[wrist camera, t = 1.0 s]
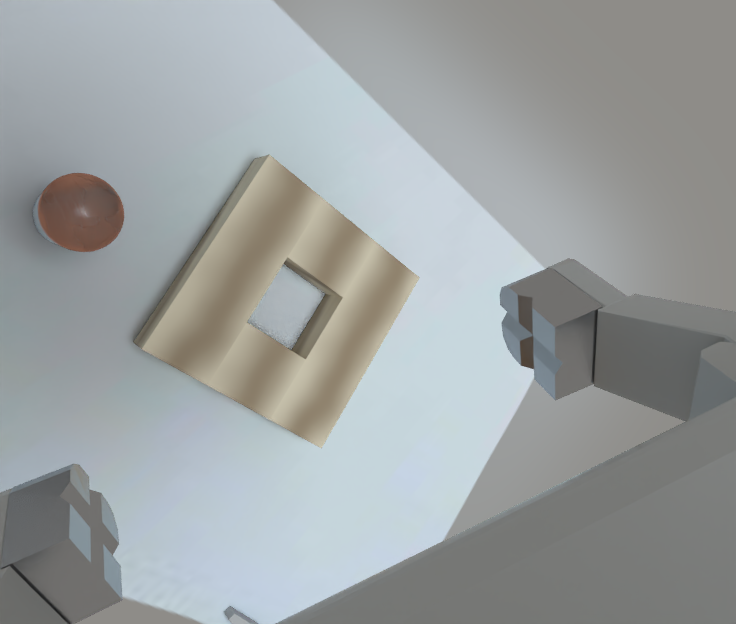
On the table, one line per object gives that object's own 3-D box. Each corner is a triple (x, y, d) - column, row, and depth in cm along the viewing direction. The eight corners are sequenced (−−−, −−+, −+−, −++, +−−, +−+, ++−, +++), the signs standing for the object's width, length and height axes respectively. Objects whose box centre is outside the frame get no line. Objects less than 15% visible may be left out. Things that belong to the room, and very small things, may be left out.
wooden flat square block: (133, 342, 43) (141, 349, 40) (254, 158, 46) (269, 154, 43) (305, 437, 51) (321, 448, 48) (399, 275, 54) (419, 277, 51)
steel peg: (17, 223, 39) (21, 221, 31) (56, 170, 39) (68, 156, 32) (78, 259, 41) (96, 266, 33) (114, 209, 41) (139, 204, 34)
